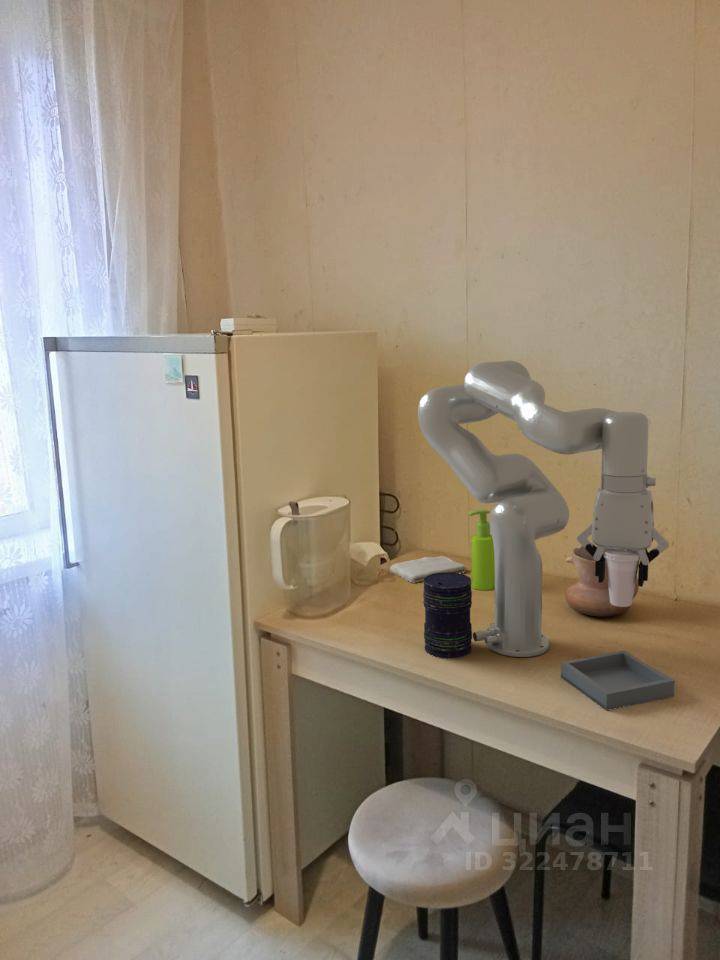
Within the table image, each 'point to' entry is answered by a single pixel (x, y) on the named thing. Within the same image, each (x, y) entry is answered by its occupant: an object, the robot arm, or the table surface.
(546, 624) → the table surface
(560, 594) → the table surface
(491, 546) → the soap dispenser
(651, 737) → the table surface
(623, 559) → the smoothie
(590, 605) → the ceramic jug
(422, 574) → the washcloth
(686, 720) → the table surface
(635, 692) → the tray
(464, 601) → the storage jar
